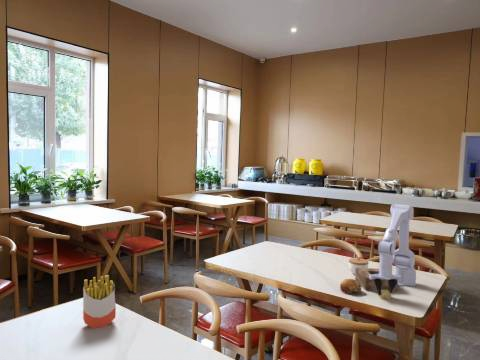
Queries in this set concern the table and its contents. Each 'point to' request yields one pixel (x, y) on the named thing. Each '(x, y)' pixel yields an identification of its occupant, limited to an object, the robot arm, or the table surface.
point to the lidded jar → (357, 264)
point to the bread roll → (350, 287)
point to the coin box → (367, 283)
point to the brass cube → (385, 294)
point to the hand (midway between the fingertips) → (384, 294)
